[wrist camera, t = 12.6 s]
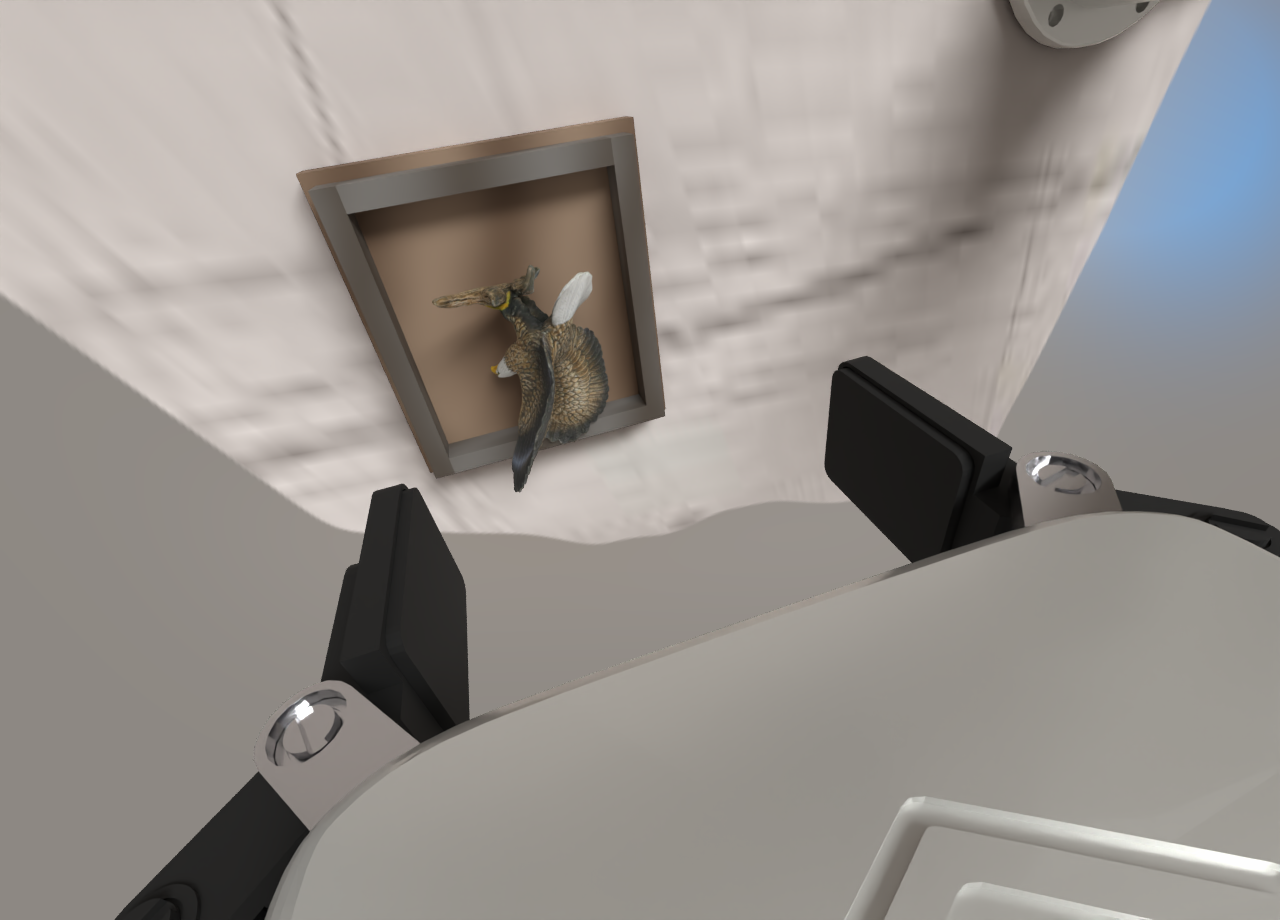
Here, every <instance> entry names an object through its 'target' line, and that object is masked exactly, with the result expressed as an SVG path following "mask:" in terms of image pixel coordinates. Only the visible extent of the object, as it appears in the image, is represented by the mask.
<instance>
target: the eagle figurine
mask: <svg viewBox="0 0 1280 920" xmlns="http://www.w3.org/2000/svg"><path fill="white" fill-rule="evenodd" d="M539 272H540V268H539V267H533V266H532V265H529V266H528V268H527V273H526V275H523V276H521V277H520V279H518V278H517V279H514V281H513V283H503V284H497V285H494V286H485V287H479V288H474V289H471V290H467V291H463V292H460V293H457V294H452V295H447V296H442V297H439V298H436V299H434V300H433V301H432V303H433V305H435V306H437V307H439V308H456V307H460V306H470V305H472V304H480V305H484V306H486V307H489V308H492V309H497V310H499V311H500V312H501V314H502V315H503V317H504V318H505V319H507V320H508V321H510V322H511V323H512V324H513V326H514V329H515V331H516V334H517V341H515V342H514V343H513V344H512V345H511V346H510V347H509V348H508V350H507V351H506V354H505V355H504V357H503V359H502V360H501V362H500V363H499V364H498V365H496V366H491V371H492V372H494V373H495V374H498V377H510V376H512V375H514V374H518V375H519V378H520V383H521V387H522V405H521V410H520V414H519V420H518V440H517V442H516V446H515V449H514V455H513V460H512V470H513V472H514V490H515V492H518V491H519V492H521V491H522V489H523V488H524V484H526V482H527V478H528V475H529V474H530V471H531V467H532V465H533V461H534V458H535V457H536V454H537V453H538V451H539V449H540V447H541V445H542V443H543V441H544V439H545V438H548V439H549V440H550V441H551V442H555V441H557V440H559V441H560V443H562V444H566V443H567V442H568V441H572V442H575V441H576V440H578V438H579V436H580V435H581V434H586V433H587V432H588V431H589V428H590V423H591V422H596V421H597V420H598V415H599V414H601V413H602V412H603V411H604V408H605V406H606V400H607V399H608V398H609V395H608V392H609V386H608V376H607V374H606V373H605V371H606V368H605V362H604V359H603V358H602V356H603V351H602V348H601V344H600V343H599V340H598V338H596V337H595V335H594V332H593V331H592V330H589V328H587V327H586V328H585V329H583V328H582V327H580V326H578V327H576V325H575V324H572V323H573V316H574V313H575V311H576V310H577V309H578V307H579V306H580V305H581V304H582V303H583V302H584V301H585V300H586V299H587V298H588V297H589V295H590V293H591V291H592V275H591V274H590V273H589V272H580V273H577V274H576V275H575V276H574V277H573V278H572V279H571V280H570V281H569V282H568V284H566V285H565V286H564V287H563V289H562V291H561V292H560V294H559V296H558V298H557V300H556V302H555V304H554V307H553V310H552V314H551V315H550V316H549V317H548V315H547V314H546V313H544V312H543V311H541V310H540V309H539V308H538V307H537V306H536V303H535V301H534V300H530V298H529V297H528V296H523V295H528V294H532V293H533V292H534V279H536V278H537V276H538V274H539Z"/></svg>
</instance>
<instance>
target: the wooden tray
mask: <svg viewBox="0 0 1280 920" xmlns="http://www.w3.org/2000/svg"><path fill="white" fill-rule="evenodd" d="M296 176H297V178H298V180H299V182H300V185H301V187H302V189H303V191H304V193H305V196H306V198H307V200H308V202H309V204H310V207H311V209H312V211H313V213H314V216H315V218H316V220H317V222H318V224H319V227H320V229H321V231H322V233H323V236H324V238H325V240H326V242H327V244H328V247H329V249H330V251H331V253H332V255H333V258H334V260H335V262H336V264H337V267H338V269H339V271H340V273H341V275H342V278H343V280H344V282H345V284H346V286H347V289H348V291H349V293H350V295H351V298H352V300H353V302H354V304H355V306H356V309H357V311H358V313H359V315H360V318H361V320H362V322H363V324H364V326H365V329H366V331H367V333H368V335H369V337H370V340H371V342H372V344H373V346H374V349H375V351H376V353H377V355H378V357H379V360H380V362H381V364H382V366H383V369H384V371H385V373H386V375H387V377H388V380H389V382H390V384H391V386H392V388H393V391H394V393H395V395H396V397H397V400H398V402H399V404H400V406H401V408H402V411H403V413H404V415H405V417H406V419H407V422H408V424H409V426H410V428H411V431H412V433H413V435H414V437H415V439H416V442H417V444H418V446H419V448H420V451H421V453H422V455H423V457H424V459H425V462H426V464H427V466H428V468H429V470H430V473H432V472H434V474H435V477H436V479H437V478H440V477H444V476H448V475H451V474H455V473H459V472H462V471H466V470H470V469H473V468H477V467H481V466H484V465H488V464H492V463H495V462H499V461H503V460H506V459H510V458H513V455H514V449H515V446H516V442H517V440H518V420H519V414H520V410H521V405H522V387H521V383H520V378H519V375H518V374H514V375H512V376H510V377H498V374H495V373H494V372H492V371H491V366H496V365H498V364H499V363H500V362H501V360H502V359H503V357H504V355H505V354H506V351H507V350H508V348H509V347H510V346H511V345H512V344H513V343H514V342H515V341H517V334H516V331H515V329H514V326H513V324H512V323H511V322H510V321H508V320H507V319H505V318H504V317H503V315H502V314H501V312H500V311H499V310H497V309H492V308H489V307H486V306H484V305H480V304H472V305H470V306H460V307H456V308H439V307H437V306H435V305H433V303H432V301H433V300H434V299H436V298H439V297H442V296H447V295H452V294H457V293H460V292H463V291H467V290H471V289H474V288H479V287H485V286H494V285H497V284H503V283H513V281H514V279H517V278H518V279H520V277H521V276H523V275H526V273H527V268H528V266H529V265H532V266H533V267H539V268H540V272H539V274H538V276H537V278H536V279H534V292H533V293H532V294H528V295H523V296H528V297H529V298H530V300H534V301H535V303H536V306H537V307H538V308H539V309H540V310H541V311H543V312H544V313H546V314H547V315H548V317H549V316H550V315H551V314H552V310H553V307H554V304H555V302H556V300H557V298H558V296H559V294H560V292H561V291H562V289H563V287H564V286H565V285H566V284H568V282H569V281H570V280H571V279H572V278H573V277H574V276H575V275H576V274H577V273H580V272H589V273H590V274H591V275H592V291H591V293H590V295H589V297H588V298H587V299H586V300H585V301H584V302H583V303H582V304H581V305H580V306H579V307H578V309H577V310H576V311H575V313H574V316H573V323H572V324H575V325H576V327H578V326H580V327H582V328H583V329H585V328H586V327H587V328H589V330H592V331H593V332H594V335H595V337H596V338H598V340H599V343H600V344H601V348H602V351H603V356H602V358H603V359H604V362H605V368H606V371H605V373H606V374H607V376H608V386H609V392H608V395H609V398H608V399H607V400H606V406H605V408H604V411H603V412H602V413H601V414H599V415H598V420H597V421H596V422H591V423H590V428H589V431H588V432H587V433H586V434H581V435H580V436H579V438H578V440H580V439H583V438H587V437H591V436H594V435H598V434H602V433H605V432H609V431H613V430H616V429H620V428H624V427H627V426H631V425H635V424H638V423H642V422H646V421H649V420H653V419H657V418H660V417H664V416H665V401H664V391H663V382H662V373H661V364H660V355H659V346H658V337H657V328H656V319H655V310H654V301H653V292H652V283H651V274H650V265H649V255H648V246H647V237H646V228H645V219H644V210H643V201H642V192H641V183H640V174H639V165H638V156H637V147H636V138H635V128H634V119H633V117H627V116H625V117H619V118H613V119H607V120H601V121H595V122H589V123H583V124H577V125H571V126H566V127H560V128H554V129H548V130H542V131H536V132H530V133H524V134H518V135H512V136H506V137H500V138H494V139H489V140H483V141H477V142H471V143H465V144H459V145H453V146H447V147H441V148H435V149H429V150H423V151H417V152H412V153H406V154H400V155H394V156H388V157H382V158H376V159H370V160H364V161H358V162H352V163H346V164H340V165H335V166H329V167H323V168H317V169H311V170H305V171H301V172H299V173H297V174H296ZM569 442H572V441H568V442H567V443H569ZM561 444H562V443H560V441H559V440H557V441H555V442H551V441H550V440H549V439H548V438H545V439H544V441H543V443H542V445H541V447H540V449H539V450H543V449H547V448H550V447H554V446H558V445H561Z"/></svg>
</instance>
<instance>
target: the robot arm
mask: <svg viewBox="0 0 1280 920" xmlns="http://www.w3.org/2000/svg"><path fill="white" fill-rule="evenodd" d="M1009 1H1010V4H1011V7H1012V9H1013V12H1014V15H1015V17H1016V19H1017V20H1018V22H1019V23H1020V25H1021V26H1022V27H1023V29H1024V30H1025V32H1026V33H1027V34H1028V35H1030V36H1031V37H1032V38H1033V39H1035V40H1036V41H1037V42H1039V43H1040V44H1043V45H1046V46H1049V47H1053V48H1080V47H1085V46H1091V45H1097V44H1099V43H1101V42H1104V41H1106V40H1108V39H1111V38H1113V37H1115V36H1117V35H1119V34H1120V33H1122V32H1123V31H1124V30H1126V29H1127V28H1129V27H1130V26H1132V25H1133V24H1135V23H1136V22H1138V21H1139V20H1140V19H1141V18H1142V17H1143V16H1144V15H1145V14H1146V13H1148V12H1149V11H1150V10H1151V9H1152V8H1153V7H1154V6H1155V5H1156V4H1157V3H1158V2H1159V1H1160V0H1009ZM1011 450H1012V447H1011V446H1009V445H1008V444H1006V443H1004V442H1003V441H1001V440H999V439H998V438H997V437H995V436H993V435H992V434H990V433H989V432H987V431H986V430H984V429H982V428H981V427H979V426H978V425H976V424H974V423H973V422H971V421H970V420H968V419H967V418H965V417H963V416H962V415H960V414H959V413H957V412H956V411H954V410H952V409H951V408H949V407H948V406H946V405H945V404H943V403H941V402H940V401H938V400H937V399H935V398H934V397H932V396H930V395H929V394H927V393H926V392H924V391H923V390H921V389H919V388H918V387H916V386H915V385H913V384H912V383H910V382H908V381H907V380H905V379H904V378H902V377H901V376H899V375H897V374H896V373H894V372H893V371H891V370H890V369H888V368H886V367H885V366H883V365H882V364H880V363H879V362H877V361H875V360H874V359H872V358H871V357H868V356H864V357H860V358H856V359H853V360H849V361H846V362H843V363H841V364H840V365H839V367H838V370H837V371H835V372H834V374H833V376H832V385H831V397H830V408H829V419H828V430H827V441H826V452H825V470H826V473H827V475H828V477H829V478H830V479H831V481H832V482H833V483H834V484H835V485H836V486H837V487H838V488H839V489H840V490H841V491H842V492H843V493H844V494H845V495H846V496H847V497H848V498H849V499H850V500H851V501H852V502H853V503H854V504H855V505H856V506H857V507H858V508H859V509H860V510H861V511H862V512H863V513H864V514H865V515H866V516H867V517H868V518H869V519H870V520H871V522H872V523H874V524H875V526H876V527H877V528H878V529H879V530H880V531H881V532H882V533H883V534H884V535H885V536H886V537H887V538H888V539H889V540H890V541H891V542H892V543H893V544H894V545H895V546H896V547H897V548H898V549H899V550H900V551H901V552H902V553H903V554H904V555H905V556H906V557H907V558H908V559H909V560H910V561H911V562H912V563H911V564H908V565H905V566H902V567H899V568H896V569H893V570H890V571H887V572H884V573H881V574H879V575H875V576H872V577H869V578H866V579H863V580H861V581H858V582H855V583H852V584H849V585H846V586H843V587H840V588H837V589H834V590H831V591H828V592H826V593H822V594H820V595H817V596H814V597H811V598H808V599H805V600H802V601H799V602H796V603H793V604H790V605H788V606H785V607H782V608H779V609H776V610H773V611H770V612H767V613H765V614H761V615H759V616H756V617H753V618H750V619H747V620H745V621H741V622H738V623H736V624H733V625H730V626H727V627H724V628H721V629H718V630H715V631H712V632H709V633H706V634H704V635H701V636H698V637H695V638H692V639H690V640H687V641H684V642H681V643H678V644H675V645H672V646H670V647H667V648H664V649H661V650H658V651H655V652H652V653H650V654H647V655H644V656H641V657H638V658H635V659H632V660H629V661H627V662H624V663H621V664H618V665H615V666H612V667H610V668H607V669H604V670H601V671H598V672H596V673H592V674H590V675H587V676H584V677H581V678H579V679H576V680H573V681H570V682H567V683H565V684H562V685H559V686H557V687H554V688H551V689H548V690H546V691H543V692H540V693H538V694H535V695H533V696H530V697H527V698H524V699H521V700H519V701H516V702H513V703H511V704H508V705H505V706H502V707H500V708H498V709H495V710H492V711H490V712H488V713H485V714H483V715H480V716H478V717H476V718H473V719H471V720H470V719H469V687H468V686H469V684H468V653H467V652H468V649H467V615H466V589H465V584H464V580H463V577H462V575H461V573H460V571H459V569H458V567H457V565H456V563H455V561H454V559H453V557H452V555H451V553H450V551H449V549H448V547H447V545H446V543H445V541H444V539H443V537H442V535H441V533H440V531H439V529H438V527H437V525H436V523H435V521H434V519H433V517H432V515H431V513H430V511H429V509H428V507H427V505H426V503H425V502H424V500H423V498H422V496H421V494H420V492H419V490H418V489H417V488H412V489H408V488H407V486H406V485H405V484H399V485H396V486H392V487H388V488H385V489H381V490H378V491H375V492H373V495H372V499H371V504H370V509H369V514H368V519H367V524H366V529H365V534H364V540H363V545H362V550H361V555H360V560H359V563H358V564H354V565H351V566H350V567H348V568H347V570H346V573H345V575H344V580H343V584H342V589H341V593H340V597H339V602H338V607H337V611H336V616H335V620H334V625H333V629H332V634H331V638H330V643H329V647H328V652H327V656H326V661H325V665H324V670H323V675H322V679H321V682H320V683H316V684H313V685H311V686H309V687H307V688H305V689H303V690H301V691H299V692H297V693H296V694H294V695H293V696H292V697H290V698H289V699H288V700H286V701H285V702H284V703H283V704H282V705H281V706H280V707H279V708H278V709H277V710H276V711H275V712H274V713H273V714H272V715H271V716H270V717H269V719H268V720H267V722H266V723H265V725H264V726H263V728H262V730H261V731H260V733H259V736H258V739H257V741H256V744H255V747H254V762H255V764H256V767H257V769H258V773H256V774H255V776H254V777H253V778H252V779H251V780H250V781H249V782H248V783H247V784H246V785H245V786H244V787H243V788H242V789H241V790H240V791H239V792H238V793H237V794H236V795H235V796H234V797H233V798H232V799H231V800H230V801H229V802H228V803H227V804H226V805H225V806H224V807H223V808H222V809H221V810H220V811H219V812H218V813H217V814H216V815H215V816H214V817H213V818H212V819H211V820H210V822H208V823H207V825H205V827H204V828H202V830H201V831H200V832H199V833H198V834H197V835H196V836H195V837H194V838H193V839H192V840H191V841H190V842H189V843H188V844H187V845H186V846H185V847H184V848H183V849H182V850H181V851H180V852H179V853H178V854H177V855H176V856H175V857H174V858H173V859H172V860H171V861H170V862H169V863H168V864H167V865H166V866H165V867H164V868H163V869H162V870H161V871H160V872H159V873H158V874H157V875H156V876H155V877H154V878H153V880H152V881H150V883H149V884H148V885H147V886H146V887H145V888H144V889H143V890H142V891H141V892H140V893H139V894H138V895H137V896H136V897H135V898H134V899H133V900H132V901H131V902H130V903H129V904H128V905H127V906H126V907H125V908H124V909H123V911H122V912H121V913H120V914H119V915H118V916H117V917H116V919H115V920H1280V531H1279V530H1278V529H1276V528H1275V527H1273V526H1271V525H1269V524H1267V523H1265V522H1264V521H1262V520H1261V519H1259V518H1257V517H1255V516H1252V515H1250V514H1247V513H1244V512H1239V511H1234V510H1229V509H1225V508H1219V507H1213V506H1207V505H1202V504H1196V503H1190V502H1184V501H1178V500H1172V499H1167V498H1160V497H1155V496H1149V495H1143V494H1137V493H1132V492H1125V491H1120V490H1115V488H1114V485H1113V483H1112V480H1111V478H1110V477H1109V475H1108V474H1107V472H1105V471H1104V470H1103V469H1102V468H1100V467H1099V466H1098V465H1096V464H1094V463H1092V462H1090V461H1088V460H1086V459H1084V458H1081V457H1078V456H1075V455H1072V454H1067V453H1062V452H1055V451H1040V452H1033V453H1030V454H1027V455H1024V456H1023V457H1021V458H1020V459H1019V460H1018V462H1017V463H1015V462H1014V461H1013V460H1011V459H1010V458H1009V456H1010V453H1011Z"/></svg>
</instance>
